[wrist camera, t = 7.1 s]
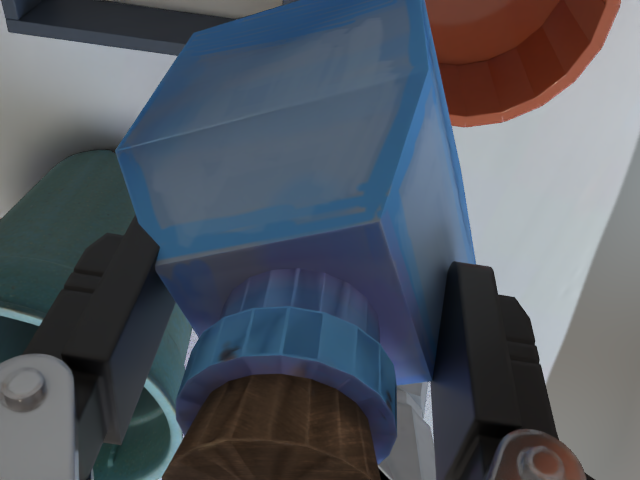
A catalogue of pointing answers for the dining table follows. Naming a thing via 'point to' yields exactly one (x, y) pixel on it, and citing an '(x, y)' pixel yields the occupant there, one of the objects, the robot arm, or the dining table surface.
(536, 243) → the dining table surface
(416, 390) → the coffee maker
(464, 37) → the round terracotta bowl
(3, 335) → the flower pot
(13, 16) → the tray
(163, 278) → the perfume bottle
